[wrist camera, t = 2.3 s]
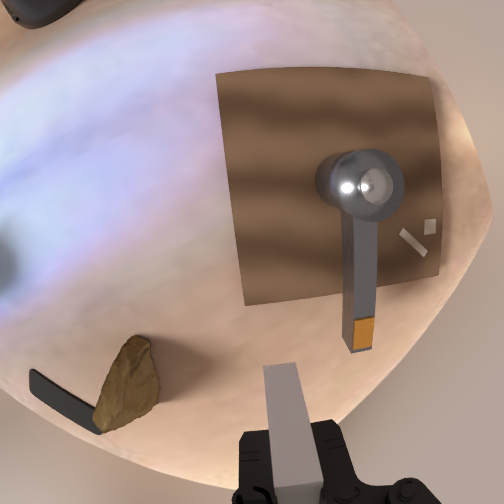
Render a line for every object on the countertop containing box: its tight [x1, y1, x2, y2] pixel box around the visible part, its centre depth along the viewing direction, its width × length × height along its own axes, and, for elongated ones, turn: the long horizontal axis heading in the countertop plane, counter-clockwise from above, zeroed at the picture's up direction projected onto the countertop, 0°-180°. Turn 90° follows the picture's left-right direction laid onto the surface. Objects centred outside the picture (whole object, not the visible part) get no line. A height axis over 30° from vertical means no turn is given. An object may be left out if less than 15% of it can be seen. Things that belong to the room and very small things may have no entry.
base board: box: [216, 67, 442, 306], centre depth 26 cm, size 22×22×2 cm
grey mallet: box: [315, 149, 404, 353], centre depth 23 cm, size 17×5×8 cm, turn 7°
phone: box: [29, 369, 102, 435], centre depth 35 cm, size 7×1×15 cm
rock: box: [93, 336, 160, 433], centre depth 30 cm, size 11×9×10 cm
